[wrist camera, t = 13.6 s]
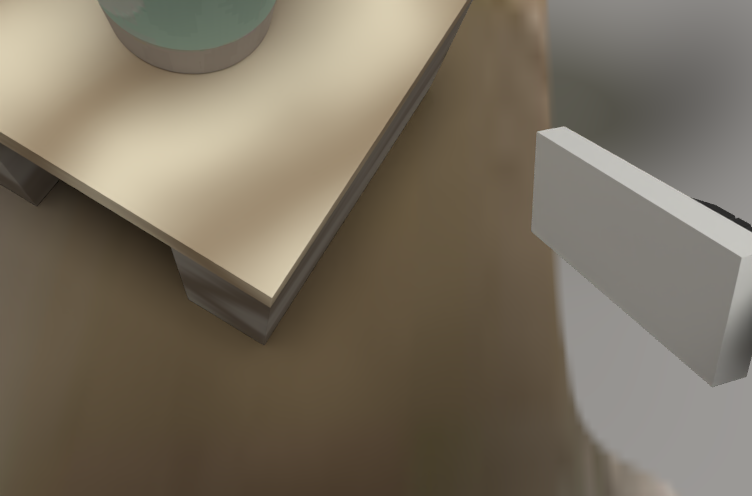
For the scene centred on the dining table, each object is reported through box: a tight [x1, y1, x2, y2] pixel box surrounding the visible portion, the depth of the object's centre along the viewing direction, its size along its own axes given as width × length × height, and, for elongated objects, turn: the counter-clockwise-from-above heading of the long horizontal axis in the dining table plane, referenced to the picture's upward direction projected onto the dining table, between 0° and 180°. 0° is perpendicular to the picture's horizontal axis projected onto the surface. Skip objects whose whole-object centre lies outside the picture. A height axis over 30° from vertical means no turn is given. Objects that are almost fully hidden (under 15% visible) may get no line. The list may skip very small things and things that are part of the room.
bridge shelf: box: [0, 0, 472, 345], centre depth 30 cm, size 16×16×10 cm
